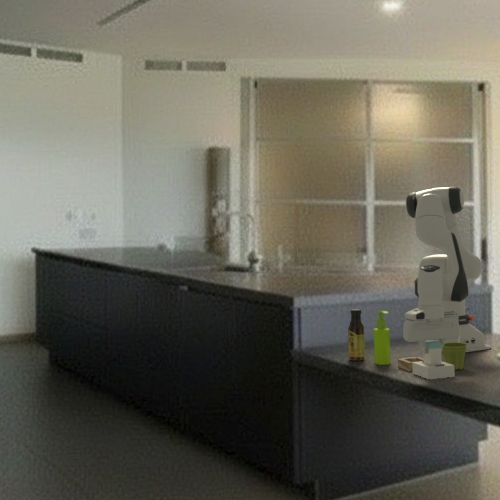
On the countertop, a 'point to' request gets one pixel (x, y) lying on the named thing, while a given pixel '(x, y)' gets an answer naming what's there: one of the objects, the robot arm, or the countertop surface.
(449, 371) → the port
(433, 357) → the plug
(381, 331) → the soap dispenser
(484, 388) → the countertop surface
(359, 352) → the sauce bottle
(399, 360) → the brown wooden square frame
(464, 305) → the robot arm
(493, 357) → the countertop surface
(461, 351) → the plant pot
